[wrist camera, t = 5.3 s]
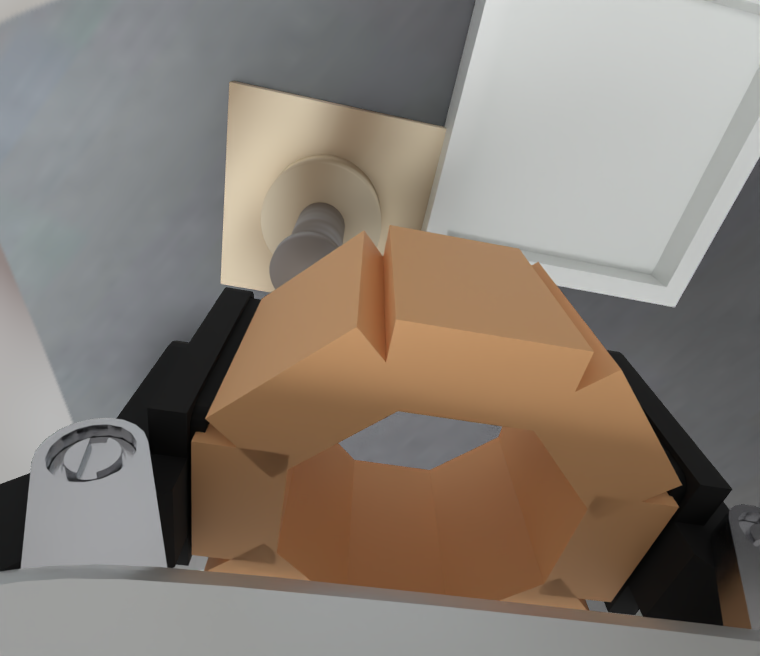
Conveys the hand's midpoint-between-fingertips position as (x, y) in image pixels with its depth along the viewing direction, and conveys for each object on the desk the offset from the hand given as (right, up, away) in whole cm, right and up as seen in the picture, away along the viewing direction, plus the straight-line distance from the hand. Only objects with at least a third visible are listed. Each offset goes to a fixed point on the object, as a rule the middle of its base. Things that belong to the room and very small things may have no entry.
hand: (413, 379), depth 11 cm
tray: (+9, +11, +13) cm, 19 cm away
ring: (0, 0, 0) cm, 0 cm away
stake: (-3, +7, +14) cm, 17 cm away
